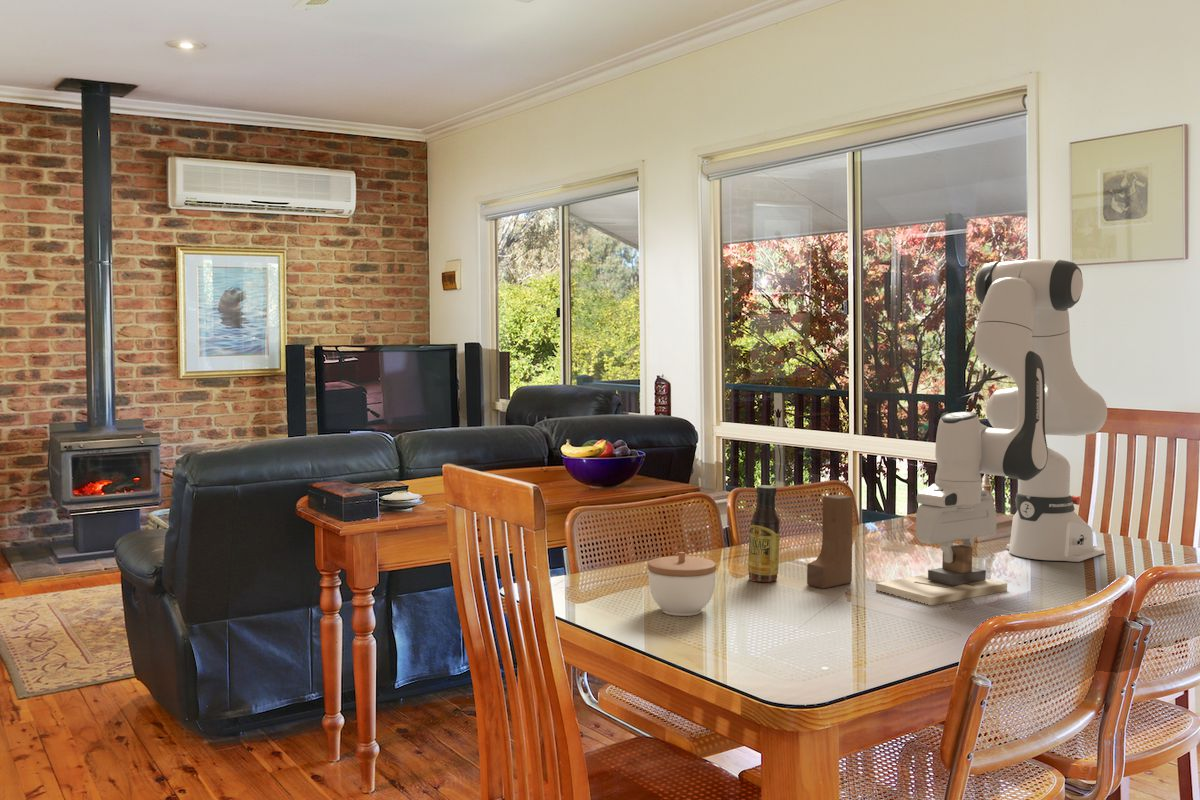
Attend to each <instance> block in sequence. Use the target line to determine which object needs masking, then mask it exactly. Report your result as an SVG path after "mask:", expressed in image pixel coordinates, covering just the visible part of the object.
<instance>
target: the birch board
mask: <svg viewBox="0 0 1200 800" xmlns="http://www.w3.org/2000/svg"><path fill="white" fill-rule="evenodd" d="M876 590H878V591H877V592H880V591H882V592H881V593H883V592H886V593H885V594H887V593H889V594H888V595H891V594H894V595H897V596H896V597H898V596H901V597H900V598H902V597H905V598H907V599H906V600H909V599H911V600H910V601H913V600H914V601H913V602H916V601H918V602H917V603H920V602H921V604H924V603H925V604H924V605H927V604H928V606H937V605H941V604H947V603H950V602H951V603H952V602H956V601H962V600H966V599H972V598H977V597H980V596H986V595H991V594H992V595H993V594H997V593H1003V592H1007V591H1008V582H1004V581H999V580H995V579H990V578H987V577H986V580H982V581H976V582H970V583H964V584H959V585H953V586H951V585H947V584H943V583H939V582H935V581H931V580H928V573H927V574H923V575H922V574H921V575H915V576H909V577H905V578H898V579H891V580H887V581H880V582H876V583H875V591H876ZM894 595H893V596H894ZM905 598H904V599H905Z"/></svg>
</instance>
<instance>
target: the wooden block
mask: <svg viewBox="0 0 1200 800" xmlns="http://www.w3.org/2000/svg"><path fill="white" fill-rule="evenodd" d="M853 503H854V502H853V497H852V496H849V495H842V494H830V495H824V496H822V519H821V520H822V525H821V526H822V529H821V530H822V533H821V534H822V535H821V536H822V537H821V539H822V540H821V541H822V542H821V544H822V545H821V549H820V553H819V554H818V556H817V558H816V560H813V561H811V562H809V563H807V565H806V568H807V569H806V585H808V586H810V587H813V588H818V589H822V590H823V589H827V588H828V589H829V588H833V587H839V586H843V585H847V584H851V583H852V582H853V579H852V577H853Z"/></svg>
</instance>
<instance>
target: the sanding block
mask: <svg viewBox="0 0 1200 800" xmlns="http://www.w3.org/2000/svg"><path fill="white" fill-rule="evenodd" d="M951 549H952V552H953V554H956V558H955V559H956V561H955V562H953V563H946V562H945V561H944V553H943V552H942V564H941V565H942V566H941V567H939V568H938V567H937V568H932V569H928V571H927V574H928V580H931V581H935V582H939V583H943V584H947V585H951V586H953V585H959V584H964V583H970V582H976V581H982V580H986V578H987V577H986V575H987V571H986V569H984V568H983V569H981V568H979V567H978V568H977V567H973V547H970V546H965V545H963V544H961V543H960V544H959V543H956V542H953V546H951Z"/></svg>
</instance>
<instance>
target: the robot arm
mask: <svg viewBox="0 0 1200 800" xmlns="http://www.w3.org/2000/svg"><path fill="white" fill-rule="evenodd" d="M974 282H975V283H974V291H975V297H976V299H977V301H978V302H979V303H980V305H981V307H980V311H979V316H978V319H977V323H976V330H975V335H974V351H975V353H976V355H977V357H978V359H979V360H980V361H981V362H982V363H983V364H984V365H986V366H987V367H988V368H989V369H992V370H993V371H995V372H998V373H1000V374H1002V375H1004V376H1006V377H1009V378H1011V379H1012V381H1014V383H1015V385H1016V386H1014V387H1007V388H1002V389H1001V388H1000V389H997V390H995V391H994V392H993V393H992V394H991V396H990V397H989V398H988V400H987V402H986V406H985V414H986V418H987V421H988V422H989V424H990V426H991V427H990V426H987V425H984V424H983V423H981V422H980V418H979V415H978V414H977V413H975V412H971V411H958V412H950V413H947V414H944V415H942V416H941V417H940V419H939V421H938V424H937V430H936V437H935V438H936V439H935V450H934V451H935V454H934V455H935V460H936V464H937V466H936V471H935V475H934V483H931V484H930V485H929V486H928V487H926V488H925V489H923V490H922V491H919V492H918V493H917V494H916V503H918V504H920V505H919V506H918V507H917V510H916V514H915V515H916V517H915V519H916V520H915V535H916V538H917V540H918V541H919V543H923V544H928V545H934V544H935V545H936V544H937V545H938V544H939V546H940V549H941V551H942V554H943V553H944V561H945V562H946V563H953V562H955V561H956V559H955V558H956V554H953V552H952V549H951V546H953V543H954V542H955V541H956V542H957V541H961V542H962V545H965V546H970V547H972V548H973V547H974V545H975V538H981V537H988V536H993V535H995V533H996V531H997V511H996V505H995V503H994V497H993V495H992V494H991V492H990V491H989V490H987V489H983V490H982V475H981V474H985V475H991V476H999V477H1007V478H1010V479H1015V480H1017V492H1016V493H1015V499H1014V502H1015V508H1016V513H1015V514H1014V515H1013V517H1012V523H1011V532H1010V539H1009V543H1007V544H1006V547H1005V548H1006V549H1007V550H1009V551H1008V552H1009V554H1010V555H1012V556H1016V557H1020V558H1026V559H1032V560H1040V561H1056V562H1057V561H1063V562H1074V563H1075V562H1078V563H1079V562H1082V561H1085V560H1088V559H1091V558H1094V557H1097V556H1100V555H1103V554H1105V549H1104V548H1101V547H1099V546H1096V545H1094V535H1093V534H1094V533H1093V529H1092V527H1091V526H1090V525H1089V524H1088V523H1087V522H1086V521H1084V520H1083V518H1081V516H1080V515H1079V514H1077V512H1075V506H1074V505H1077V506H1079V505H1081V503H1082V500H1083V499H1082V497H1081V496H1079V495H1077V496H1076V495H1071V494H1070V490H1071V489H1070V487H1071V485H1070V484H1071V465H1070V463H1069V461H1068V459H1067V458H1066V457H1065V456H1064V455H1063V454H1061V453H1059V452H1058V451H1055V450H1054V449H1053V448H1052V449H1051V448H1050V447H1048V443H1047V437H1046V435H1048V436H1066V437H1067V436H1068V437H1069V436H1070V437H1078V436H1085V435H1086V436H1087V435H1091V434H1097V433H1098V432H1099V431H1100V430H1102V428H1103V427H1104V425H1105V423H1106V421H1107V419H1108V418H1107V417H1108V406H1107V402H1106V401H1105V398H1104V397H1103V396H1102V395H1101V394H1100V393H1099V392H1098V391H1096V390H1095V389H1093V388H1092V387H1090V385H1088V384H1087V383H1086V382H1085V381H1084V380H1083V379H1082V378H1081V376H1080V375H1079V374H1078V371H1077V369H1076V368H1075V365H1074V362H1073V356H1072V348H1071V327H1070V313H1069V309H1072V307H1074V306H1075V305H1076V304H1077V303H1078V302H1079V301H1080V299H1081V296H1082V292H1083V288H1084V279H1083V273H1082V270H1081V268H1080V267H1079V266H1078V265H1077V264H1076V263H1075V262H1072V261H1070V260H1064V259H1059V260H1051V259H1041V258H1040V259H1038V258H1031V259H1030V258H1029V259H1024V260H1023V259H1021V260H1020V259H1019V260H1011V261H1010V260H1009V261H1001V260H998V261H992V262H988V263H985V264H984V265H983V266H982V267H981V268H980V269H979V270H978V272H977V273H976V277H975V281H974Z"/></svg>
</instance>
